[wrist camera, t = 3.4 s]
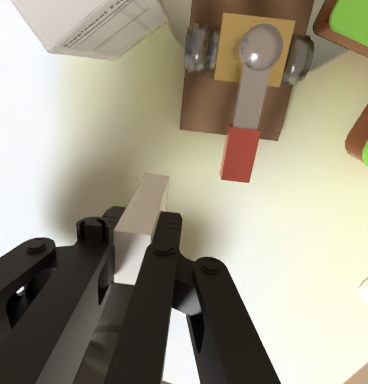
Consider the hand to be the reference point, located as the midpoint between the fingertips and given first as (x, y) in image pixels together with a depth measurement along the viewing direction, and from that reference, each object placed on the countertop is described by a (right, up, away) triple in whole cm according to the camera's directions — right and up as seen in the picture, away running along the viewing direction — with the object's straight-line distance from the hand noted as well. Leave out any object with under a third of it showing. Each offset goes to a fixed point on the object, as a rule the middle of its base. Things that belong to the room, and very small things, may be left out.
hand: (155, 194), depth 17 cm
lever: (+8, +9, +10) cm, 15 cm away
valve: (+9, +17, +16) cm, 26 cm away
